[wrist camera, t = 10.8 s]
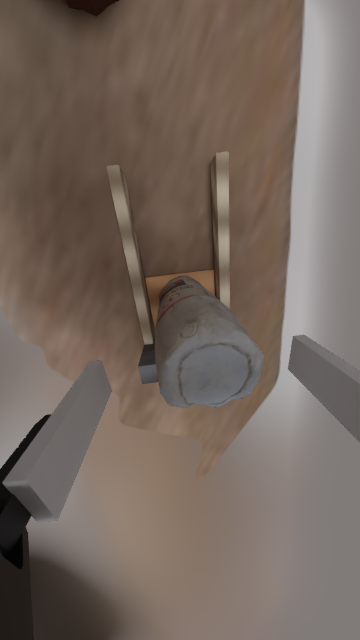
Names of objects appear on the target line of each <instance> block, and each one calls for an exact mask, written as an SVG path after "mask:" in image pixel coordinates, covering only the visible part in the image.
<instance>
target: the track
mask: <svg viewBox="0 0 360 640" xmlns="http://www.w3.org/2000/svg"><path fill="white" fill-rule="evenodd" d="M106 169H107V173H108V178H109V183H110V187H111V192H112V196H113V201H114V206H115V210H116V215H117V220H118V224H119V229H120V234H121V238H122V243H123V247H124V252H125V257H126V261H127V266H128V271H129V275H130V280H131V285H132V289H133V294H134V298H135V303H136V308H137V312H138V317H139V322H140V326H141V331H142V336H143V340H144V348H143V351H142V355H141V358H140V362H139V365H138V368H139V372H140V376H141V380H142V384H146V383H154V382H159V380H158V374H157V369H156V363H155V333H154V329H155V328H156V319H157V314H158V305H159V295H160V293H161V290H162V289H163V288H164V287H165V286H166V285H167V283H168V282H169V281H170V280H172V279H174V278H176V277H178V276H189V277H191V278H192V279H195V280H196V281H197V282H199V283H200V284H201V285H202V286H203V287H204V288H205V289H207V290H208V291H209V292H211V293H212V294H213V295H214V296H215V291H216V298H217V299H219V300H220V301H221V302H222V303H223V304H224V305H226V306H227V307H228V308H229V309H230V259H229V151H227V152H219V153H216V154H215V156H214V158H213V160H212V163H211V190H212V215H213V241H214V266H215V283H214V269H211V270H203V271H195V272H186V273H178V274H170V275H162V276H154V277H146V278H145V280H146V285H147V291H148V296H149V301H148V296H147V291H146V285H145V280H144V274H143V269H142V264H141V258H140V253H139V248H138V242H137V237H136V232H135V226H134V221H133V215H132V210H131V205H130V199H129V194H128V189H127V183H126V178H125V174H124V173H123V171H122V169H121V168H120V166H119V165H112V166H106ZM149 302H150V307H151V312H150V307H149ZM151 313H152V317H151ZM152 318H153V323H154V328H153V323H152Z"/></svg>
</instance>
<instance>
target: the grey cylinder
mask: <svg viewBox="0 0 360 640" xmlns="http://www.w3.org/2000/svg"><path fill="white" fill-rule="evenodd" d="M155 363H156V369H157V374H158V380H159V386H160V394H161V395H162V396H163V397H164V398H165V400H166V402H167V404H169V405H170V406H176V407H181V408H187V407H190V406H191V405H196V404H200V405H206V406H211V407H221V406H223V405H225V404H226V403H228V402H229V401H231V400H234V399H241V398H244V397H245V396H247V395H249V394H250V393H251V392H252V391H253V389H254V387H255V386H256V384H257V383H258V381H259V378H260V374H261V371H262V368H263V363H264V354H263V353H262V351H261V350H260V349H259V347H258V346H257V345H256V343H255V342H254V341H253V339H252V338H251V337H250V335H249V334H248V333H247V331H246V330H245V329H244V328H243V327H242V325H241V324H240V323H239V322H238V321H237V319H236V317H235V316H234V314H233V313H232V312H231V310H230V309H229V308H228V307H227V306H226V305H224V304H223V303H222V302H221V301H220V300H219V299H217V298H216V297H215V296H214V295H213V294H212V293H211V292H209V291H208V290H207V289H205V288H204V287H203V286H202V285H201V284H200V283H199V282H197V281H196V280H195V279H192V278H191V277H189V276H178V277H176V278H174V279H172V280H170V281H169V282H168V283H167V285H166V286H165V287H164V288H163V289H162V290H161V293H160V295H159V305H158V314H157V319H156V328H155Z"/></svg>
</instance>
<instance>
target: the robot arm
mask: <svg viewBox="0 0 360 640" xmlns="http://www.w3.org/2000/svg"><path fill="white" fill-rule="evenodd" d="M288 369H289V371H290V372H291V373H293V375H294V376H295V377H296V378H297V379H298V380H299V381H300V382H301V383H302V384H303V385H304V386H305V387H306V388H307V389H308V390H309V391H310V392H311V393H312V394H313V395H314V396H315V397H316V398H317V399H318V400H319V401H320V402H321V403H322V404H323V405H324V406H325V407H326V408H327V410H328V411H330V413H331V414H332V415H333V416H334V417H335V418H336V419H337V420H338V421H339V422H340V423H341V424H342V425H343V426H344V427H345V428H346V429H347V430H348V431H349V432H350V433H351V434H352V435H353V436H354V437H355V438H356V439H357V440H358V441H359V442H360V371H359V370H358V369H357V368H355V367H353V366H352V365H350V364H349V363H347V362H346V361H344V360H342V359H341V358H340V357H338V356H336V355H335V354H333V353H332V352H330V351H329V350H327V349H326V348H324V347H322V346H321V345H319V344H318V343H316V342H315V341H313V340H311V339H310V338H308V337H307V336H305V335H299V336H293V340H292V346H291V353H290V360H289V366H288ZM111 392H112V390H111V387H110V384H109V381H108V378H107V375H106V372H105V369H104V366H103V363H102V361H101V360H96V361H90V362H89V363H88V365H87V366H86V368H85V369H84V370H83V372H82V373H81V374H80V376H79V377H78V379H77V380H76V381H75V383H74V384H73V386H72V387H71V388H70V390H69V391H68V392H67V394H66V395H65V397H64V398H63V400H62V401H61V402H60V403H59V405H58V406H57V408H56V409H55V410H54V412H53V413H52V414H50V415H45V416H44V417H43V418H42V419H41V420H40V421H39V422H37V423H36V424H35V425H34V427H33V428H32V429H31V430H30V432H29V433H28V434H27V436H26V438H24V439H23V441H22V442H21V443H20V445H19V447H18V448H17V449H16V450H15V451H14V452H13V454H12V455H11V456H10V457H9V459H8V460H7V461H6V463H5V464H4V465H3V466H2V468H1V469H0V640H34V635H33V616H32V598H31V580H30V564H29V545H28V532H27V529H26V525H27V523H28V521H29V519H30V517H31V516H32V517H33V518H34V519H35V520H36V521H37V523H41V522H50V521H58V518H59V516H60V514H61V511H62V509H63V507H64V504H65V502H66V499H67V497H68V494H69V492H70V490H71V487H72V485H73V483H74V480H75V478H76V476H77V473H78V471H79V468H80V466H81V463H82V461H83V459H84V456H85V454H86V452H87V449H88V447H89V444H90V442H91V440H92V437H93V435H94V432H95V430H96V428H97V425H98V423H99V420H100V418H101V416H102V413H103V411H104V409H105V406H106V404H107V401H108V399H109V397H110V394H111Z"/></svg>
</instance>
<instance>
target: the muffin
mask: <svg viewBox="0 0 360 640" xmlns="http://www.w3.org/2000/svg"><path fill="white" fill-rule="evenodd" d="M65 1H66V3H67V4H68V6H69V8H75V9H80V10H84V11H86V12H88V13H91V14H93V15H95V16H98V15H99V14H100V13H101V12H102V11H103V10H104V9H105V8H106V7H107V6H109V5H111V4H113V3H115V2H117V1H118V0H65Z"/></svg>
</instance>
